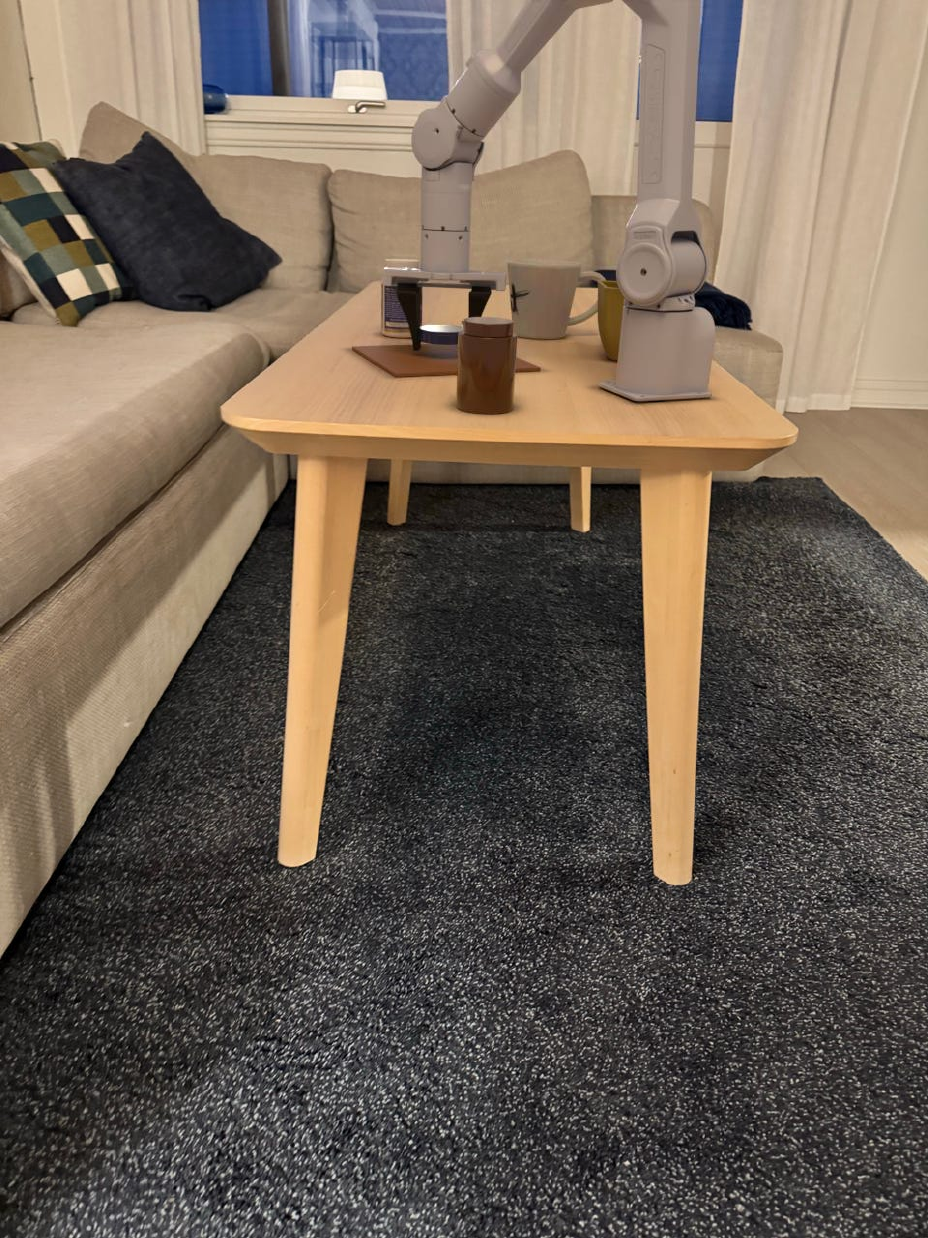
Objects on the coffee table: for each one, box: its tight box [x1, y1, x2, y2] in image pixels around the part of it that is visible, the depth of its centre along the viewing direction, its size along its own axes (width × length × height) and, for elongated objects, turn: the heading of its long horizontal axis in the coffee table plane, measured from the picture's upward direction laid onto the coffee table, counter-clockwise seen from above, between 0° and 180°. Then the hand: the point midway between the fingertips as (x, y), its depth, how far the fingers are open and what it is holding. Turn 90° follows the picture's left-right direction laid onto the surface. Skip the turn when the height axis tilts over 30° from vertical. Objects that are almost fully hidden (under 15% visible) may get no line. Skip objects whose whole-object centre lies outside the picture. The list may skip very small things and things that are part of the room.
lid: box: [419, 324, 463, 345], centre depth 110 cm, size 6×6×2 cm
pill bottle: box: [380, 258, 424, 339], centre depth 125 cm, size 6×6×10 cm
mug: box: [506, 258, 607, 340], centre depth 130 cm, size 10×15×10 cm
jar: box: [455, 316, 518, 415], centre depth 87 cm, size 6×6×8 cm
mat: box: [351, 343, 542, 378], centre depth 111 cm, size 18×18×1 cm
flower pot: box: [597, 280, 625, 362], centre depth 115 cm, size 9×9×9 cm
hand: (442, 350), depth 111 cm, fingers closed on lid, 6 cm apart
